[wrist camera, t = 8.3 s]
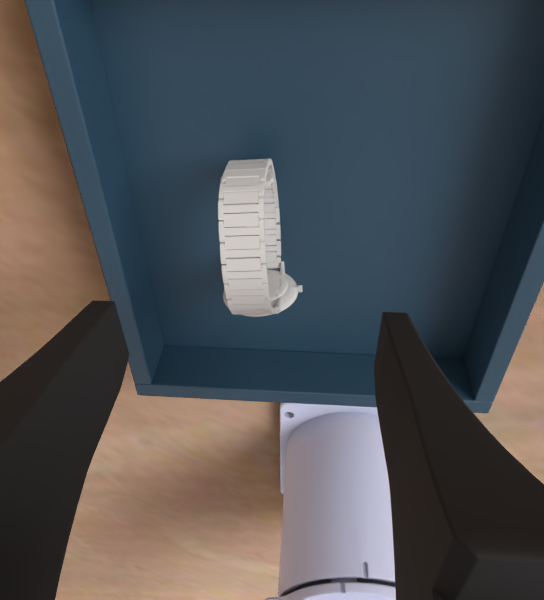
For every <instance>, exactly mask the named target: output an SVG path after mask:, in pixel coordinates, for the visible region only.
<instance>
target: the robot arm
mask: <svg viewBox="0 0 544 600" xmlns="http://www.w3.org/2000/svg"><path fill="white" fill-rule="evenodd" d="M128 358H129V351H128V347H127V344H126V340H125V337H124V333H123V329H122V326H121V322H120V319H119V315H118V312H117V308H116V304H115V301H92V302H91V303H90V304H89V305H88V306H86V307H85V308H84V309H83V310H82V311H81V312H80V313H79V314H78V315H77V316H76V317H75V318H74V319H72V320H71V321H70V322H69V323H68V324H67V325H66V326H65V327H64V328H63V329H62V330H61V331H60V332H59V333H57V334H56V335H55V336H54V337H53V338H52V339H51V340H50V341H49V342H48V343H46V344H45V345H44V346H43V347H42V348H41V349H40V350H39V351H38V352H36V353H35V354H34V355H33V356H32V357H30V358H29V359H28V360H27V361H26V362H24V363H23V364H22V365H21V366H19V367H18V368H17V369H16V370H15V371H13V372H12V373H11V374H10V375H9V376H7V377H6V378H5V379H3V380H2V381H1V382H0V600H55V597H56V592H57V587H58V582H59V577H60V573H61V569H62V565H63V560H64V556H65V552H66V548H67V543H68V539H69V535H70V532H71V528H72V524H73V520H74V516H75V513H76V509H77V505H78V502H79V498H80V495H81V491H82V488H83V484H84V481H85V478H86V474H87V471H88V468H89V466H90V463H91V460H92V457H93V455H94V452H95V450H96V447H97V445H98V443H99V440H100V438H101V435H102V433H103V430H104V428H105V426H106V423H107V421H108V418H109V416H110V413H111V411H112V408H113V406H114V403H115V401H116V398H117V396H118V393H119V391H120V388H121V385H122V381H123V378H124V374H125V370H126V366H127V362H128ZM374 378H375V398H376V406H377V407H357V406H338V405H319V404H300V403H280V491H281V493H282V494H284V502H283V518H282V535H281V551H280V567H279V584H278V597H272V598H266V599H265V600H544V484H543V483H541V482H540V481H539V480H538V479H537V478H536V477H535V476H533V475H532V474H531V473H530V472H529V471H528V470H527V469H526V468H525V467H524V466H523V465H522V464H521V463H520V462H519V461H518V460H517V459H516V458H514V457H513V456H512V455H511V454H510V453H509V452H508V451H507V450H506V449H505V448H504V447H503V446H502V445H501V444H500V443H499V442H498V440H497V439H496V438H495V437H494V436H493V435H492V434H491V433H490V432H489V431H488V430H487V429H486V427H485V426H484V425H483V424H482V423H481V422H480V421H479V419H478V418H477V417H476V416H475V415H474V414H473V412H472V411H471V410H470V409H469V407H468V406H467V405H466V404H465V402H464V401H463V400H462V398H461V397H460V396H459V394H458V393H457V392H456V390H455V389H454V388H453V386H452V385H451V384H450V382H449V381H448V379H447V378H446V376H445V375H444V373H443V372H442V370H441V369H440V367H439V366H438V364H437V363H436V361H435V360H434V358H433V357H432V355H431V354H430V352H429V350H428V349H427V347H426V345H425V343H424V342H423V340H422V338H421V337H420V335H419V333H418V331H417V329H416V327H415V325H414V324H413V322H412V320H411V318H410V316H409V315H408V314H407V313H402V312H383V313H382V319H381V325H380V332H379V338H378V344H377V350H376V356H375V362H374Z"/></svg>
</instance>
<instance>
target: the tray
mask: <svg viewBox="0 0 544 600" xmlns="http://www.w3.org/2000/svg"><path fill="white" fill-rule="evenodd" d="M25 4H26V7H27V11H28V14H29V18H30V21H31V25H32V28H33V32H34V35H35V39H36V42H37V45H38V49H39V52H40V56H41V59H42V63H43V66H44V70H45V73H46V77H47V80H48V84H49V87H50V91H51V94H52V98H53V101H54V105H55V108H56V111H57V115H58V118H59V122H60V125H61V129H62V132H63V136H64V139H65V143H66V146H67V150H68V153H69V157H70V160H71V164H72V167H73V170H74V174H75V177H76V181H77V184H78V188H79V191H80V195H81V198H82V202H83V205H84V209H85V212H86V216H87V219H88V223H89V226H90V230H91V233H92V236H93V240H94V243H95V247H96V250H97V254H98V257H99V261H100V264H101V268H102V271H103V275H104V278H105V282H106V285H107V289H108V292H109V295H110V299H111V301H115V304H116V308H117V312H118V315H119V319H120V322H121V326H122V329H123V333H124V337H125V340H126V344H127V347H128V351H129V358H128V361H129V365H130V368H131V372H132V375H133V379H134V382H135V386H136V390H137V393H138V395H146V396H165V397H184V398H203V399H223V400H242V401H261V402H280V403H300V404H319V405H338V406H357V407H377V406H376V398H375V378H374V362H375V356H376V350H377V344H378V338H379V332H380V325H381V319H382V313H383V312H402V313H407V314H408V315H409V316H410V318H411V320H412V322H413V324H414V325H415V327H416V329H417V331H418V333H419V335H420V337H421V338H422V340H423V342H424V343H425V345H426V347H427V349H428V350H429V352H430V354H431V355H432V357H433V358H434V360H435V361H436V363H437V364H438V366H439V367H440V369H441V370H442V372H443V373H444V375H445V376H446V378H447V379H448V381H449V382H450V384H451V385H452V386H453V388H454V389H455V390H456V392H457V393H458V394H459V396H460V397H461V398H462V400H463V401H464V402H465V404H466V405H467V406H468V407H469V409H470V410H471V411H472V412H473V413H488V412H489V410H490V408H491V405H492V403H493V401H494V399H495V396H496V394H497V391H498V389H499V387H500V384H501V382H502V380H503V377H504V375H505V372H506V370H507V368H508V365H509V363H510V361H511V358H512V356H513V353H514V351H515V349H516V346H517V344H518V342H519V339H520V337H521V335H522V332H523V330H524V327H525V325H526V323H527V320H528V318H529V316H530V313H531V311H532V308H533V306H534V304H535V301H536V299H537V297H538V294H539V292H540V289H541V287H542V285H543V282H544V0H25ZM269 158H270V159H272V162H273V167H274V171H275V178H276V183H277V192H278V200H279V211H280V229H281V240H277V241H281V262H284V265H285V274H287V275H289V276H290V277H291V278H292V279H293V280H294V281H295V282H296V285H297V286H298V285H302V292H298V295H297V298H296V300H295V301H294V303H292V304H291V305H290V306H289V307H288V308H286V309H285V310H283V311H281V312H279V314H273V315H269V316H264V317H250V316H244V315H240V314H238V315H234V314H232V313H231V311H230V309H229V308H228V307H227V306H226V304H225V303H224V299H223V293H224V283H223V276H222V264H221V257H220V240H219V220H218V201H219V189H220V183H221V181H220V180H221V177H222V176H223V173H224V171H225V168H226V165H227V164H228V162H229V161H230V160H252V159H269ZM225 228H227V227H225ZM240 236H242V235H240ZM224 243H225V242H224ZM271 246H275V245H271ZM268 270H276V271H280V269H268Z"/></svg>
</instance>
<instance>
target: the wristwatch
mask: <svg viewBox="0 0 544 600" xmlns="http://www.w3.org/2000/svg"><path fill="white" fill-rule="evenodd" d="M220 181H221V183H220V189H219V201H218V220H219V240H220V257H221V264H222V276H223V283H224V293H223V299H224V303H225V304H226V306H227V307H228V308H229V309H230V311H231V313H232V314H234V315H238V314H240V315H244V316H250V317H264V316H269V315H273V314H279V312H281V311H283V310H285V309H286V308H288V307H289V306H290V305H291V304H292V303H294V301H295V300H296V298H297V295H298V292H302V285H298V286H297V285H296V282H295V281H294V280H293V279H292V278H291V277H290V276H289V275H287V274H285V265H284V262H281V241H277V240H281V229H280V211H279V200H278V192H277V183H276V178H275V171H274V167H273V162H272V159H270V158H269V159H252V160H230V161H229V162H228V164H227V165H226V168H225V171H224V173H223V176H222V177H221V180H220ZM225 227H227V228H225ZM240 235H242V236H240ZM224 242H225V243H224ZM271 245H275V246H271ZM268 269H280V271H276V270H268Z"/></svg>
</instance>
